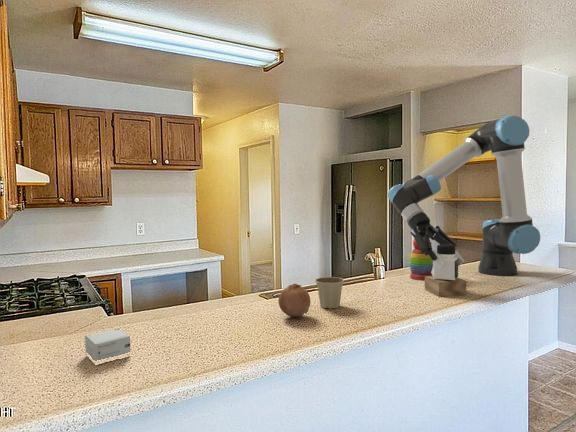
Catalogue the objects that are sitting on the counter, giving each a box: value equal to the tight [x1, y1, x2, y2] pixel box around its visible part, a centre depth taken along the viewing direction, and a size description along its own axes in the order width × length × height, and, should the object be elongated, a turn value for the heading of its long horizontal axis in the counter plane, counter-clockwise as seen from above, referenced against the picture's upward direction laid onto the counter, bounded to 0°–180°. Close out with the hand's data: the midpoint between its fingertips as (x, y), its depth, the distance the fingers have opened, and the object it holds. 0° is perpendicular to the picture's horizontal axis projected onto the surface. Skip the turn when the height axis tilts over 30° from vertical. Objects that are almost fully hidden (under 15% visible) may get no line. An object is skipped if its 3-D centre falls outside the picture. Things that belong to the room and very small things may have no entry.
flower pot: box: [314, 276, 345, 310], centre depth 130 cm, size 9×9×9 cm
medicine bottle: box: [433, 244, 459, 280], centre depth 144 cm, size 7×7×12 cm
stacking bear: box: [408, 239, 434, 281], centre depth 170 cm, size 11×10×18 cm
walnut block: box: [424, 276, 467, 298], centre depth 145 cm, size 10×10×5 cm
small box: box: [84, 328, 131, 361], centre depth 94 cm, size 8×8×5 cm
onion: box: [278, 283, 311, 318], centre depth 119 cm, size 10×9×10 cm
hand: (452, 265), depth 142 cm, fingers closed on medicine bottle, 9 cm apart
